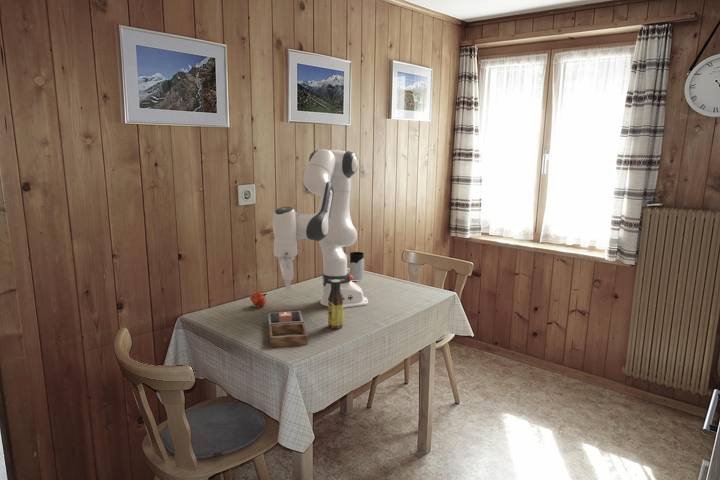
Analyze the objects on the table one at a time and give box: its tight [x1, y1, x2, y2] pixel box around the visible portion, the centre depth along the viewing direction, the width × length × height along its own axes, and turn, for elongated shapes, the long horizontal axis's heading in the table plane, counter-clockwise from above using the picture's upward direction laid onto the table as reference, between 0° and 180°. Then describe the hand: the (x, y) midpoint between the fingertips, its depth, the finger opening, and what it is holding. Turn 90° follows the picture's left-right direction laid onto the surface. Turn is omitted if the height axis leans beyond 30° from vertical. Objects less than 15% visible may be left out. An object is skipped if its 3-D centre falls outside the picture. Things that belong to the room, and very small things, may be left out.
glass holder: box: [345, 251, 365, 280], centre depth 279 cm, size 9×14×15 cm, turn 59°
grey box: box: [267, 310, 305, 333], centre depth 208 cm, size 14×14×4 cm
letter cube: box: [278, 311, 293, 323], centre depth 208 cm, size 5×5×5 cm
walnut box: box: [268, 322, 308, 348], centre depth 194 cm, size 14×14×4 cm
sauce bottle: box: [327, 279, 344, 330], centre depth 205 cm, size 7×6×20 cm
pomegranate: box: [249, 292, 268, 309], centre depth 231 cm, size 7×7×10 cm
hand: (287, 285), depth 193 cm, fingers open, 8 cm apart
